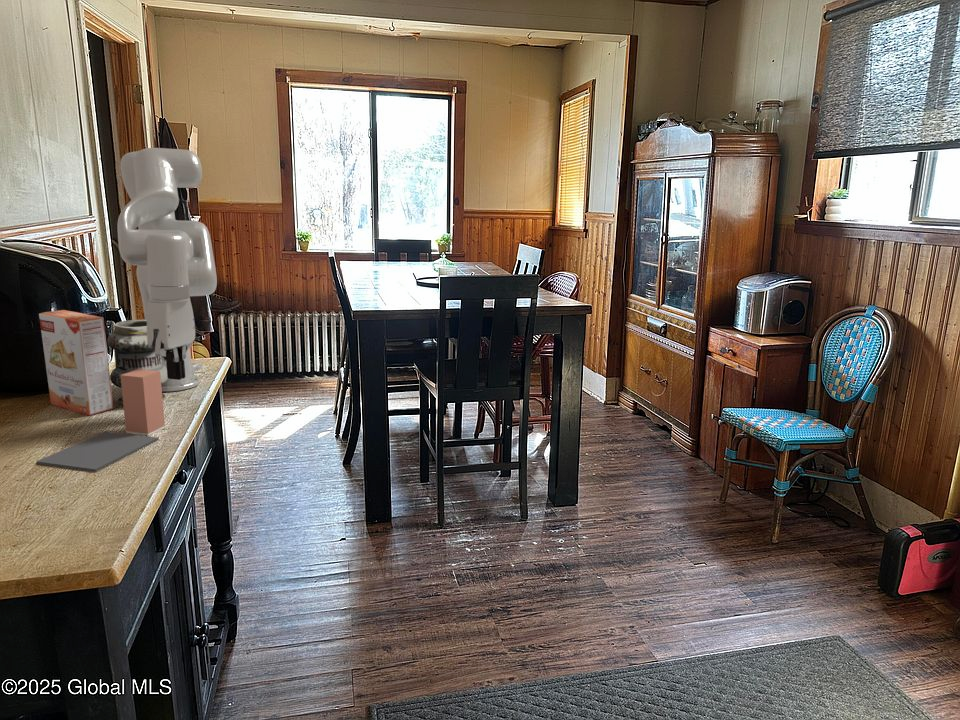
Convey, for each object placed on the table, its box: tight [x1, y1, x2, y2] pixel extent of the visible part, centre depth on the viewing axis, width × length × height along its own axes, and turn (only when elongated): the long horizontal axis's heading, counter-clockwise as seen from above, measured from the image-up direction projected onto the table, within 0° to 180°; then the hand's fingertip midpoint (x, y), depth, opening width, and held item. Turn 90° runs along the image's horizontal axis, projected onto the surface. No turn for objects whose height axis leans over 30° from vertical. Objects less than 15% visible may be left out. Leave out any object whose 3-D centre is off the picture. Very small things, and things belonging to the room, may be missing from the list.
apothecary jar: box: [106, 319, 168, 405], centre depth 150 cm, size 12×12×18 cm
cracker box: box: [38, 309, 114, 417], centre depth 143 cm, size 14×6×21 cm, turn 62°
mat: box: [36, 430, 159, 473], centre depth 122 cm, size 16×12×1 cm
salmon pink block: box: [120, 369, 166, 436], centre depth 132 cm, size 5×5×12 cm
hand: (176, 378), depth 141 cm, fingers closed
